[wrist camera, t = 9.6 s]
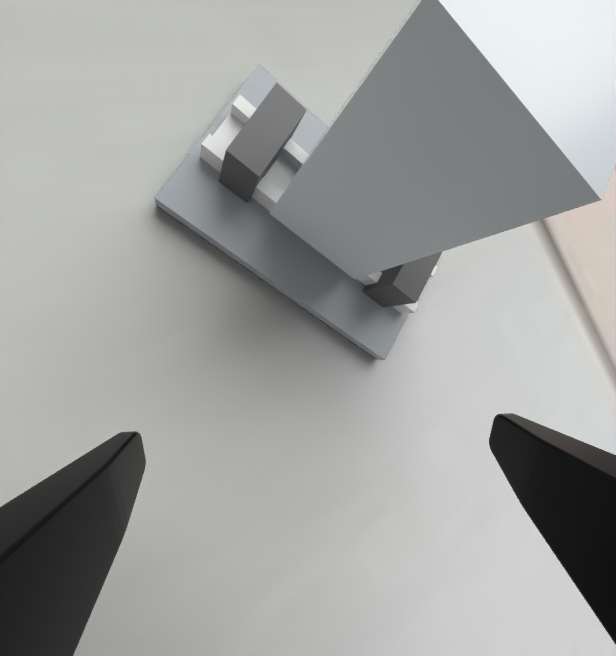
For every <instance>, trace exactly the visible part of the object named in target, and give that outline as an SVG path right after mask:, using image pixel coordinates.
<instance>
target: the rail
mask: <svg viewBox="0 0 616 656" xmlns="http://www.w3.org/2000/svg"><path fill="white" fill-rule="evenodd" d="M327 128H328V127H327V126H326V125H325V124H324V123H323V122H322V121H321V120H320V119H319V118H318V117H317V116H316V115H314V114H313V113H312V112H311V111H310V110H309V109H308V108H307V107H306V106H305V105H304V104H303V103H301V102H300V101H299V100H298V99H297V98H296V97H295V96H294V95H293V94H292V93H291V92H290V91H289V90H287V89H286V88H285V87H284V86H283V85H282V84H281V83H280V82H279V81H278V80H277V79H276V78H274V77H273V76H272V75H271V74H270V73H269V72H268V71H267V70H266V69H265V68H264V67H263V66H261V65H260V64H259V65H258V66H257V67H256V69H255V70H254V71H253V73H252V74H251V75H250V76H249V78H248V79H247V80H246V82H245V83H244V84H243V85H242V87H241V88H240V89H239V90H238V92H237V93H236V94H235V96H234V97H233V98H232V99H231V101H230V102H229V103H228V105H227V106H226V107H225V108H224V110H223V111H222V112H221V114H220V115H219V116H218V117H217V119H216V120H215V121H214V122H213V124H212V125H211V126H210V128H209V129H208V130H207V131H206V133H205V134H204V135H203V137H202V138H201V139H200V140H199V142H198V143H197V144H196V146H195V147H194V148H193V149H192V151H191V152H190V153H189V154H188V156H187V157H186V158H185V160H184V161H183V162H182V163H181V165H180V166H179V167H178V169H177V170H176V171H175V172H174V174H173V175H172V176H171V178H170V179H169V180H168V181H167V183H166V184H165V185H164V186H163V188H162V189H161V190H160V192H159V193H158V194H157V195H156V197H155V202H156V205H157V206H158V207H160V208H161V209H162V210H164V211H165V212H167V213H168V214H170V215H171V216H172V217H174V218H175V219H177V220H178V221H180V222H181V223H182V224H184V225H185V226H187V227H188V228H190V229H191V230H192V231H194V232H195V233H197V234H198V235H200V236H201V237H202V238H204V239H205V240H207V241H208V242H210V243H211V244H212V245H214V246H215V247H217V248H218V249H220V250H221V251H222V252H224V253H225V254H227V255H228V256H230V257H231V258H233V259H234V260H235V261H237V262H238V263H240V264H241V265H243V266H244V267H245V268H247V269H248V270H250V271H251V272H253V273H254V274H255V275H257V276H258V277H260V278H261V279H263V280H264V281H265V282H267V283H268V284H270V285H271V286H273V287H274V288H275V289H277V290H278V291H280V292H281V293H283V294H284V295H285V296H287V297H288V298H290V299H291V300H293V301H294V302H296V303H297V304H298V305H300V306H301V307H303V308H304V309H306V310H307V311H308V312H310V313H311V314H313V315H314V316H316V317H317V318H318V319H320V320H321V321H323V322H324V323H326V324H327V325H328V326H330V327H331V328H333V329H334V330H336V331H337V332H338V333H340V334H341V335H343V336H344V337H346V338H347V339H348V340H350V341H351V342H353V343H354V344H356V345H357V346H359V347H360V348H361V349H363V350H364V351H366V352H367V353H369V354H370V355H371V356H373V357H374V358H376V359H381V360H385V359H386V357H387V355H388V353H389V351H390V349H391V347H392V345H393V343H394V342H395V340H396V338H397V336H398V334H399V332H400V330H401V328H402V326H403V324H404V322H405V320H406V318H407V316H408V314H409V313H413V312H415V310H416V308H417V306H418V304H419V302H417V300H418V298H419V296H420V294H421V292H422V290H423V288H424V286H425V284H426V283H427V281H428V279H429V277H431V276H433V275H434V273H435V271H436V269H437V266H436V263H437V261H438V259H439V257H440V255H441V253H442V252H443V251H442V252H439V253H436V254H433V255H429V256H426V257H423V258H420V259H417V260H414V261H411V262H408V263H405V264H402V265H399V266H396V267H392V268H389V269H386V270H383V271H380V272H377V273H374V274H371V275H368V276H365V277H362V278H358V279H355V280H354V279H353V278H352V277H351V276H349V275H348V274H347V273H345V272H344V271H343V270H341V269H340V268H339V267H338V266H336V265H335V264H334V263H332V262H331V261H330V260H329V259H327V258H326V257H325V256H323V255H322V254H321V253H320V252H318V251H317V250H316V249H314V248H313V247H312V246H310V245H309V244H308V243H307V242H305V241H304V240H303V239H301V238H300V237H299V236H298V235H296V234H295V233H294V232H292V231H291V230H290V229H288V228H287V227H286V226H285V225H283V224H282V223H281V222H279V221H278V220H277V219H276V218H274V217H273V216H272V215H270V214H269V213H270V211H271V210H272V208H273V207H274V206H275V204H276V203H277V201H278V200H279V198H280V197H281V195H282V194H283V192H284V191H285V189H286V188H287V186H288V185H289V183H290V182H291V180H292V179H293V177H294V176H295V174H296V173H297V171H298V170H299V168H300V167H301V166H302V164H303V163H304V161H305V160H306V158H307V157H308V155H309V154H310V152H311V151H312V149H313V148H314V146H315V145H316V143H317V142H318V141H319V139H320V138H321V136H322V135H323V133H324V132H325V131H326V129H327Z"/></svg>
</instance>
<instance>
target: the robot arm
mask: <svg viewBox="0 0 616 656" xmlns="http://www.w3.org/2000/svg"><path fill="white" fill-rule="evenodd" d="M489 445H490V449H491V451H492V453H493V455H494V456H495V458H496V460H497V462H498V464H499V465H500V467H501V469H502V471H503V473H504V474H505V476H506V478H507V480H508V482H509V483H510V485H511V487H512V489H513V491H514V492H515V494H516V496H517V498H518V499H519V501H520V503H521V505H522V506H523V508H524V509H525V511H526V512H527V514H528V515H529V517H530V518H531V520H532V521H533V523H534V524H535V526H536V527H537V529H538V530H539V532H540V533H541V535H542V536H543V538H544V539H545V541H546V542H547V543H548V545H549V546H550V548H551V549H552V551H553V552H554V554H555V555H556V557H557V558H558V560H559V561H560V563H561V564H562V566H563V567H564V569H565V570H566V572H567V573H568V575H569V576H570V578H571V579H572V581H573V582H574V583H575V585H576V586H577V588H578V589H579V591H580V592H581V594H582V595H583V597H584V598H585V600H586V601H587V603H588V604H589V606H590V607H591V609H592V610H593V612H594V613H595V615H596V616H597V618H598V619H599V621H600V622H601V623H602V625H603V626H604V628H605V629H606V631H607V632H608V634H609V635H610V637H611V638H612V640H613V641H614V643H615V644H616V455H614V454H611V453H609V452H606V451H604V450H601V449H599V448H596V447H594V446H592V445H589V444H587V443H584V442H582V441H579V440H577V439H574V438H572V437H569V436H567V435H565V434H562V433H560V432H557V431H555V430H552V429H550V428H547V427H545V426H542V425H540V424H538V423H535V422H533V421H530V420H528V419H525V418H523V417H520V416H518V415H516V414H511V413H510V414H498V415H496V416H495V418H494V421H493V425H492V429H491V434H490V438H489ZM145 464H146V459H145V454H144V449H143V443H142V438H141V435H140V433H138V432H121V433H118V434H117V435H115V436H114V437H112V438H110V439H109V440H107V441H106V442H104V443H102V444H101V445H99V446H98V447H96V448H94V449H93V450H91V451H90V452H88V453H86V454H85V455H83V456H82V457H80V458H78V459H77V460H75V461H73V462H72V463H70V464H69V465H67V466H65V467H64V468H62V469H61V470H59V471H57V472H56V473H54V474H53V475H51V476H49V477H48V478H46V479H45V480H43V481H41V482H40V483H38V484H37V485H35V486H33V487H32V488H30V489H29V490H27V491H25V492H24V493H22V494H21V495H19V496H17V497H16V498H14V499H12V500H11V501H9V502H8V503H6V504H4V505H3V506H1V507H0V656H73V655H74V652H75V650H76V648H77V645H78V643H79V640H80V638H81V636H82V633H83V631H84V629H85V626H86V624H87V622H88V619H89V617H90V615H91V612H92V610H93V608H94V605H95V603H96V601H97V598H98V596H99V593H100V591H101V589H102V586H103V584H104V582H105V579H106V577H107V575H108V572H109V570H110V568H111V565H112V563H113V561H114V558H115V556H116V554H117V551H118V549H119V546H120V544H121V541H122V539H123V536H124V534H125V531H126V528H127V525H128V522H129V519H130V516H131V512H132V509H133V506H134V503H135V499H136V496H137V493H138V490H139V486H140V483H141V480H142V477H143V474H144V470H145Z"/></svg>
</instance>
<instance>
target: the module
mask: <svg viewBox="0 0 616 656" xmlns="http://www.w3.org/2000/svg"><path fill="white" fill-rule="evenodd" d="M615 165H616V0H417V1H416V2H415V4H414V5H413V7H412V8H411V9H410V11H409V12H408V14H407V15H406V17H405V18H404V19H403V21H402V22H401V24H400V25H399V26H398V28H397V29H396V31H395V32H394V34H393V35H392V36H391V38H390V39H389V41H388V42H387V44H386V45H385V46H384V48H383V49H382V51H381V52H380V54H379V55H378V56H377V58H376V59H375V61H374V62H373V64H372V65H371V66H370V68H369V69H368V71H367V72H366V74H365V75H364V76H363V78H362V79H361V81H360V82H359V83H358V85H357V86H356V88H355V89H354V91H353V92H352V93H351V95H350V96H349V98H348V99H347V101H346V102H345V103H344V105H343V106H342V108H341V109H340V111H339V112H338V113H337V115H336V116H335V118H334V119H333V121H332V122H331V123H330V125H329V126H328V128H327V129H326V131H325V132H324V133H323V135H322V136H321V138H320V139H319V141H318V142H317V143H316V145H315V146H314V148H313V149H312V151H311V152H310V154H309V155H308V157H307V158H306V160H305V161H304V163H303V164H302V166H301V167H300V168H299V170H298V171H297V173H296V174H295V176H294V177H293V179H292V180H291V182H290V183H289V185H288V186H287V188H286V189H285V191H284V192H283V194H282V195H281V197H280V198H279V200H278V201H277V203H276V204H275V206H274V207H273V208H272V210H271V211H270V213H269V214H270V215H272V216H273V217H274V218H276V219H277V220H278V221H279V222H281V223H282V224H283V225H285V226H286V227H287V228H288V229H290V230H291V231H292V232H294V233H295V234H296V235H298V236H299V237H300V238H301V239H303V240H304V241H305V242H307V243H308V244H309V245H310V246H312V247H313V248H314V249H316V250H317V251H318V252H320V253H321V254H322V255H323V256H325V257H326V258H327V259H329V260H330V261H331V262H332V263H334V264H335V265H336V266H338V267H339V268H340V269H341V270H343V271H344V272H345V273H347V274H348V275H349V276H351V277H352V278H353V279H354V280H355V279H358V278H362V277H365V276H368V275H371V274H374V273H377V272H380V271H383V270H386V269H389V268H392V267H396V266H399V265H402V264H405V263H408V262H411V261H414V260H417V259H420V258H423V257H426V256H429V255H433V254H436V253H439V252H442V251H445V250H448V249H451V248H454V247H457V246H460V245H463V244H467V243H470V242H473V241H476V240H479V239H482V238H485V237H488V236H491V235H494V234H497V233H501V232H504V231H507V230H510V229H513V228H516V227H519V226H522V225H525V224H528V223H531V222H535V221H538V220H541V219H544V218H547V217H550V216H553V215H556V214H559V213H562V212H565V211H569V210H572V209H575V208H578V207H581V206H584V205H587V204H590V203H593V202H596V201H599V200H602V197H603V195H604V192H605V190H606V187H607V185H608V182H609V180H610V178H611V175H612V173H613V170H614V168H615Z"/></svg>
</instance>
